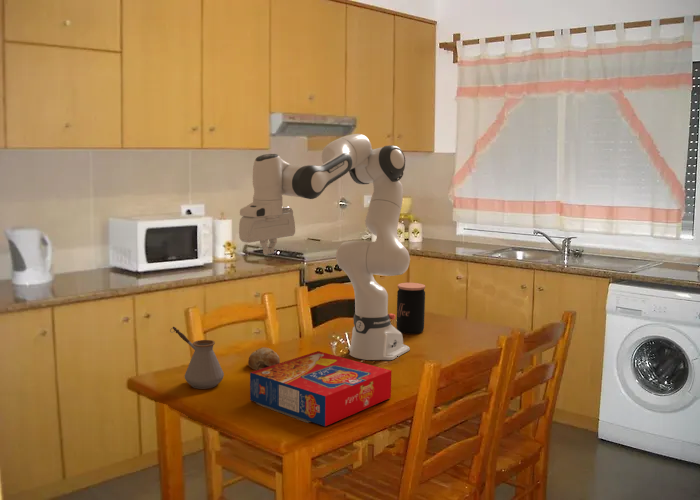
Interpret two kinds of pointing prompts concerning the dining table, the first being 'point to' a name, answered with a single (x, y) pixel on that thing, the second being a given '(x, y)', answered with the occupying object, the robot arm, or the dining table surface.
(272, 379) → the cereal box
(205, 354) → the coffee pot
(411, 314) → the coffee jar
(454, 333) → the dining table surface
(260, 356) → the bread roll
